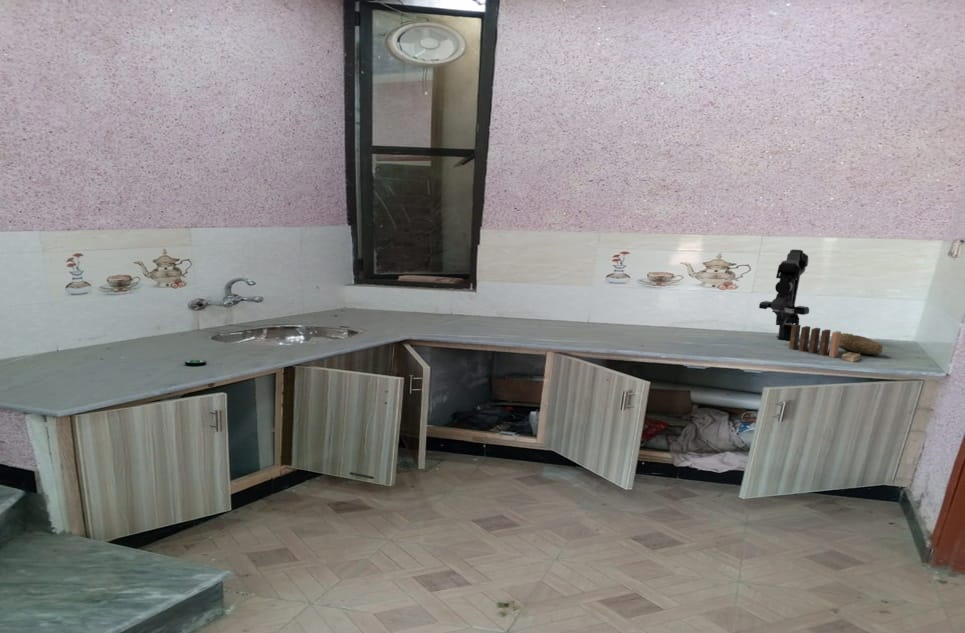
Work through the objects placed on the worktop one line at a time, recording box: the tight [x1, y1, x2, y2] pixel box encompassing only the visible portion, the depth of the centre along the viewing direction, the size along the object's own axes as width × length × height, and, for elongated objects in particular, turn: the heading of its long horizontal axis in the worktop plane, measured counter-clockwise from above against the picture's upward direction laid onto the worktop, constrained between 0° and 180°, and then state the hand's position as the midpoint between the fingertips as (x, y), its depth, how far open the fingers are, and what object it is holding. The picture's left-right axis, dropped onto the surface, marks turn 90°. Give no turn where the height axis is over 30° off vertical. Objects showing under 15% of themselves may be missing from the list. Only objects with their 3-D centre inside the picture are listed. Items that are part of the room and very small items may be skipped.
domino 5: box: [828, 330, 842, 358], centre depth 238 cm, size 2×5×10 cm, turn 131°
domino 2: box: [798, 325, 811, 352], centre depth 247 cm, size 2×5×10 cm, turn 131°
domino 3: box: [808, 327, 821, 354], centre depth 244 cm, size 2×5×10 cm, turn 131°
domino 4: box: [818, 328, 832, 356], centre depth 241 cm, size 2×5×10 cm, turn 131°
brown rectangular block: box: [788, 324, 802, 350], centre depth 250 cm, size 2×5×10 cm, turn 131°
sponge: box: [839, 333, 883, 355], centre depth 248 cm, size 13×8×20 cm
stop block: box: [841, 351, 861, 363], centre depth 235 cm, size 4×8×2 cm, turn 131°
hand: (781, 327), depth 254 cm, fingers closed
